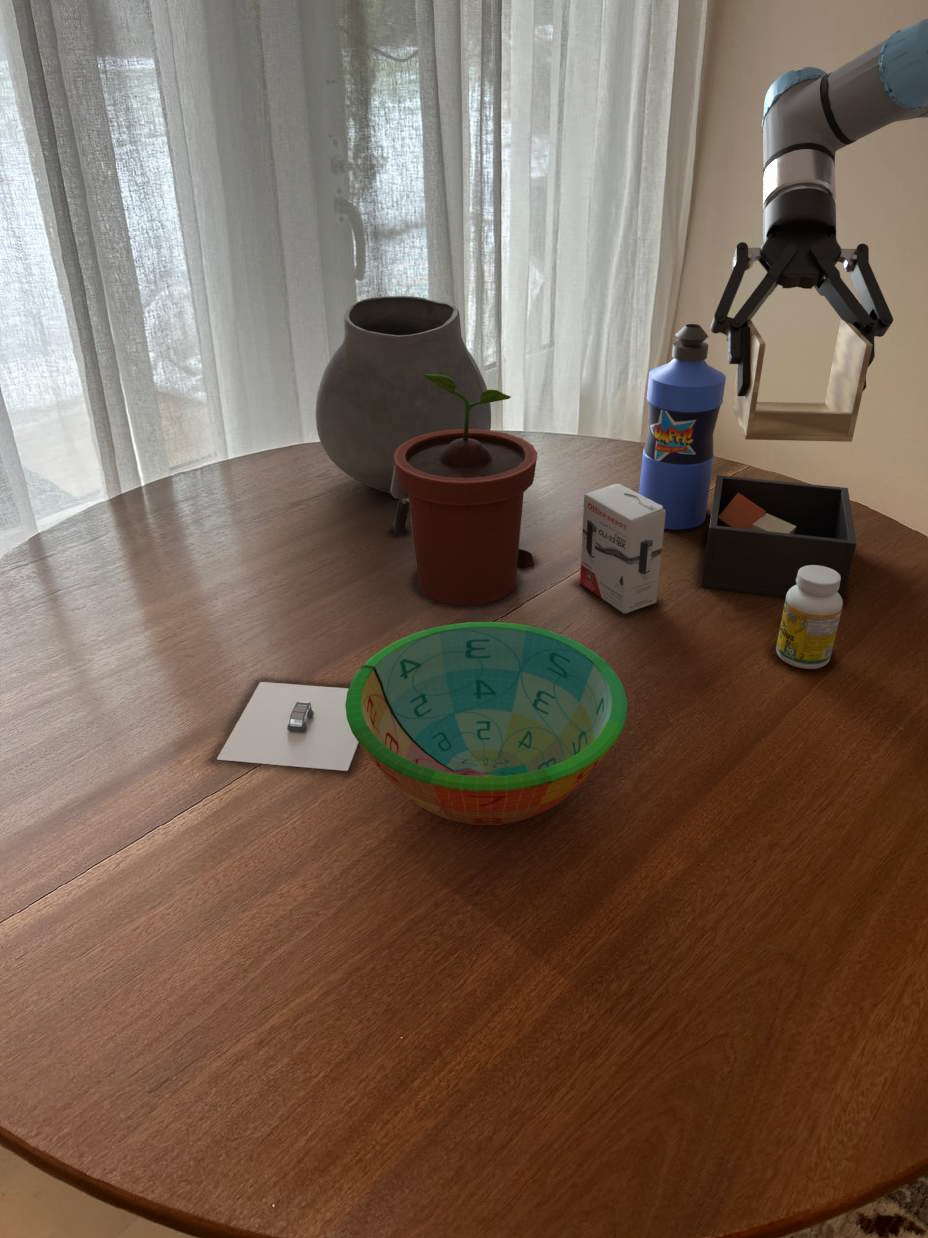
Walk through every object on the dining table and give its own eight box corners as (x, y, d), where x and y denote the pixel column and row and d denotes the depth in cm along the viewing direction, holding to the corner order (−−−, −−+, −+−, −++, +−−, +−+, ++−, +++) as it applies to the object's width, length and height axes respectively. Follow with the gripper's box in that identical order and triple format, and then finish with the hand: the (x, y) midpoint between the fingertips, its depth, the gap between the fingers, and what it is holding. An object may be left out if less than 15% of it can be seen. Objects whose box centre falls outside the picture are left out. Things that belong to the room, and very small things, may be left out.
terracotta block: (716, 527, 117) (736, 503, 117) (742, 546, 115) (762, 521, 116) (717, 517, 113) (738, 492, 113) (744, 536, 112) (765, 510, 112)
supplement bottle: (836, 670, 93) (857, 587, 88) (783, 671, 93) (800, 588, 88) (819, 641, 98) (838, 561, 93) (768, 641, 98) (784, 561, 93)
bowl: (657, 756, 82) (668, 663, 77) (545, 933, 66) (550, 830, 61) (443, 684, 92) (440, 596, 87) (299, 822, 76) (286, 725, 70)
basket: (835, 543, 117) (848, 487, 113) (842, 604, 104) (856, 543, 100) (709, 529, 121) (716, 474, 117) (700, 586, 108) (709, 527, 104)
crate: (731, 406, 106) (743, 316, 101) (829, 408, 105) (846, 317, 100) (745, 439, 97) (759, 343, 92) (852, 441, 96) (872, 344, 91)
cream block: (755, 540, 115) (766, 512, 113) (785, 553, 114) (796, 526, 111) (742, 551, 113) (752, 524, 110) (772, 566, 111) (783, 538, 108)
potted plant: (381, 616, 103) (366, 396, 90) (394, 530, 122) (383, 337, 109) (540, 614, 103) (548, 394, 90) (529, 528, 122) (534, 335, 108)
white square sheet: (216, 759, 83) (213, 746, 82) (260, 681, 93) (258, 669, 92) (347, 771, 81) (346, 757, 80) (377, 690, 91) (376, 678, 90)
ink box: (577, 583, 109) (582, 490, 103) (610, 572, 111) (617, 481, 105) (624, 615, 103) (633, 518, 97) (658, 603, 105) (669, 507, 99)
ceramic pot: (308, 518, 125) (287, 330, 112) (336, 451, 146) (321, 286, 132) (489, 519, 124) (490, 330, 111) (491, 452, 145) (492, 285, 132)
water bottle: (693, 535, 119) (719, 339, 106) (625, 520, 123) (642, 329, 110) (715, 508, 126) (742, 321, 113) (650, 495, 130) (668, 313, 117)
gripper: (897, 230, 104) (903, 411, 99) (685, 228, 106) (681, 405, 101) (923, 184, 97) (932, 376, 92) (695, 183, 99) (691, 371, 94)
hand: (800, 391), depth 96 cm, fingers closed on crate, 11 cm apart
